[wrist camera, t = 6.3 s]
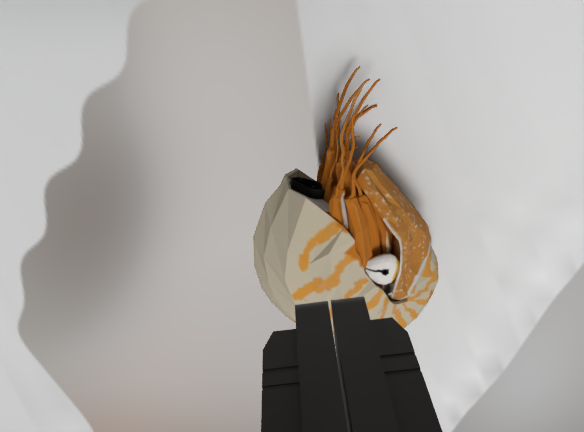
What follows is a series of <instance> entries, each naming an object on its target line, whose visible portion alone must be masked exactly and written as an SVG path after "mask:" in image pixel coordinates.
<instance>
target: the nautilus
mask: <svg viewBox="0 0 584 432" xmlns="http://www.w3.org/2000/svg"><path fill="white" fill-rule="evenodd" d="M359 68H360V66H359V67H358V68H357V69H356V70H355V71H354V72H353V74H352V75H351V77H350V78H349V80H348V82H347V83H346V85H345V88H344V90H343V93H342V95H341V98H340V101H339V93H338V95H337V109H336V112H335V114H334V125H333V128H332V129H331V121H330V143H329V148H328V150H327V143H328V136H327V130H326V123H325V133H326V138H327V140H326V148H325V152H326V150H327V152H326V153H327V156H326V158H325V165H324V155H325V152H324V154H323V156H322V162H321V165H320V166H319V170H318V175H317V181H315V180H313V179H312V178H310V177H309V176H307V175H306V174H304V173H303V172H301V171H300V170H298V169H295V170H293V171H291V172H289V173H288V174H286V175H285V176H284V179H283V180H282V182H281V185H280V186H279V187H278V189H277V190H276V191H275V192H274V193H273V195H272V196H271V197H270V198H269V199H268V201H267V202H266V203H265V206H264V208H263V211H262V214H261V217H260V220H259V223H258V225H257V228H256V231H255V234H254V266H255V269H256V272H257V275H258V278H259V281H260V284H261V287H262V289H263V291H264V292H265V294H266V295H267V296H268V298H269V299H270V301H271V302H272V303H273V304H274V305H275V306H276V307H277V308H278V309H279V310H280V311H281V312H282V313H283V314H284V315H285V316H287V317H288V318H289V319H291V320H293V321H294V322H296V317H295V305H298V304H306V303H314V302H322V301H328V305H329V311H330V318H331V324H332V330H333V335H334V328H333V319H332V310H331V300H338V299H346V298H354V297H363V296H364V298H365V301H366V305H367V309H368V313H369V316H370V320H374V319H382V318H390V317H392V318H393V319H394V320H395V321H396V322H398V323H399V324H400V325H401V326H402V327H403V328H405V327H406V326H407V325H408V324H410V323H411V322H412V321H413V320H414V319H416V318H417V316H418V315H419V314H420V312H421V311H422V310H423V308H424V307H425V306H426V304H427V303H428V301H429V299H430V297H431V296H432V294H433V291H434V289H435V287H436V284H437V282H438V263H437V258H436V255H435V253H434V251H433V249H432V247H431V237H430V233H429V228H428V225H427V224H426V223H425V221H424V220H423V218H422V217H421V216H420V214H419V213H418V212H417V210H416V209H415V207H414V206H413V205H412V203H411V202H409V201H408V200H407V199H406V198H405V197H404V195H403V194H402V193H401V191H400V190H399V189H398V188H397V186H396V185H395V184H394V183H393V182H392V181H391V180H390V179H389V178H388V177H387V176H386V174H385V173H384V172H383V171H382V170H381V169H380V167H379V166H378V165H377V163H375V162H372V161H370V160H368V159H367V158H368V157H369V156H370V155H371V154H372V153H373V151H374V150H375V149H376V148H377V147H378V145H379V144H380V143H381V142H382V141H383V140H384V139H386V137H387V136H388V135H389V134H390V133H391V132H392V131H393V130H395V129H397V127H396V128H393V129H391V130H390V131H389V132H388V133H387V134H386V135H385V136H384V137H383V138H381V139H380V140H379V141H378V142H377V144H376V145H375V146H374V147H373V148H372V149H371V151H370V152H369V153H368V154H367V155H366V156H365V157H364V158H363V156H364V154H365V151H366V149H367V147H368V144H369V142H370V141H371V139H372V138H373V136H374V134H375V132H376V131H377V129H378V128H379V127H380V126H381V124H380V125H378V126H377V127H376V129H375V130H374V132H373V133H372V135H371V137H370V138H369V139H368V140H367V143H366V145H365V148H364V150H363V152H362V154H361V156H360V158H356V159H354V160H352V156H353V152H354V150H355V149H356V148H359V147H355V138H359V137H360V136H355V137H354V125H355V123H356V121H357V119H358V118H359V117H361V116H362V115H363V114H365V113H366V112H368V111H369V110H370V109H372V108H374V107H377V105H376V106H372V107H371V108H369V109H367V110H366V111H364V112H363V110H364V109H365V108H366V107H367V106H368V105H367V106H365V107H364V108H363V109H362V110H361V112H360V113H359V114H358V115H357V113H358V111H359V109H360V107H361V105H362V103H363V101H364V100H365V98H366V97H367V96H368V94H369V93H370V91H371V90H372V89H373V87H374V86H375V85H376V83H377V82H378V81H380V79H378V80H377V81H375V82H374V84H373V85H372V86H371V88H370V89H369V90H368V92H367V93H366V94H365V96H364V97H363V98H362V100H361V102H360V104H359V105H358V107H357V109H356V111H355V113H353V115H352V118H351V121H350V123H349V124H348V125H347V123H348V121H349V118H350V115H351V113H352V110H353V107H354V104H355V101H356V99H357V98H358V96H359V94H360V92H361V90H362V87H363V86H364V84H365V83H366V82H367V81H369V80H370V79H367V80H366V81H364V82H363V83H362V85H361V86H360V87H359V88H358V89H357V90H356V91H355V92H354V94H353V95H352V96H351V97H350V99H349V100H348V102H347V103H346V105H345V107H344V108H343V110H342V112H341V113H340V107H341V104H342V101H343V99H344V96H345V93H346V90H347V87H348V85H349V83H350V82H351V80H352V78H353V76H354V74H355V73H356V71H357V70H358V69H359ZM355 95H356V96H355ZM354 96H355V97H354ZM353 98H354V99H353ZM352 99H353V101H352V104H351V107H350V110H349V112H348V115H347V117H346V120H345V123H344V125H343V128H342V130H341V132H340V133H339V131H340V122H341V121H340V119H341V117H342V115H343V114H344V112H345V110H346V109H347V107H348V105H349V104H350V102H351V100H352ZM337 115H338V118H337ZM356 115H357V117H356ZM355 117H356V118H355ZM337 124H338V128H337ZM350 127H351V128H350ZM334 131H335V137H334ZM345 131H346V132H345ZM344 132H345V141H344V143H343V134H344ZM350 134H351V137H352V139H351V140H349V136H350ZM339 137H340V146H341V148H340V146H339V144H338V138H339ZM351 141H352V148H351V152H350V151H349V142H351ZM356 172H357V174H356Z"/></svg>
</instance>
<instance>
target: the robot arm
mask: <svg viewBox="0 0 584 432" xmlns="http://www.w3.org/2000/svg"><path fill="white" fill-rule="evenodd" d="M331 310H332V319H333V328H334V337H335V343H334V337H333V330H332V324H331V318H330V311H329V305H328V301H322V302H314V303H306V304H298V305H295V317H296V329H292V330H283V331H275V332H273V333H272V335H271V336H270V338H269V340H268V342H267V344H266V345H265V347H264V349H263V374H262V377H263V378H262V388H263V391H262V420H261V423H262V425H261V432H442V429H441V427H440V424H439V421H438V418H437V415H436V412H435V409H434V406H433V404H432V401H431V398H430V395H429V392H428V389H427V386H426V383H425V381H424V378H423V375H422V372H421V371H420V366H419V363H418V360H417V358H416V356H415V352H414V349H413V346H412V343H411V340H410V337H409V335H408V332H407V331H406V330H405V329H404V328H403V327H402V326H401V325H400V324H399V323H398V322H396V321H395V320H394V319H393V318H392V317H390V318H382V319H374V320H370V316H369V313H368V309H367V305H366V301H365V298H364V296H363V297H354V298H346V299H338V300H331ZM335 346H336V350H335ZM336 355H337V356H336Z"/></svg>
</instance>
